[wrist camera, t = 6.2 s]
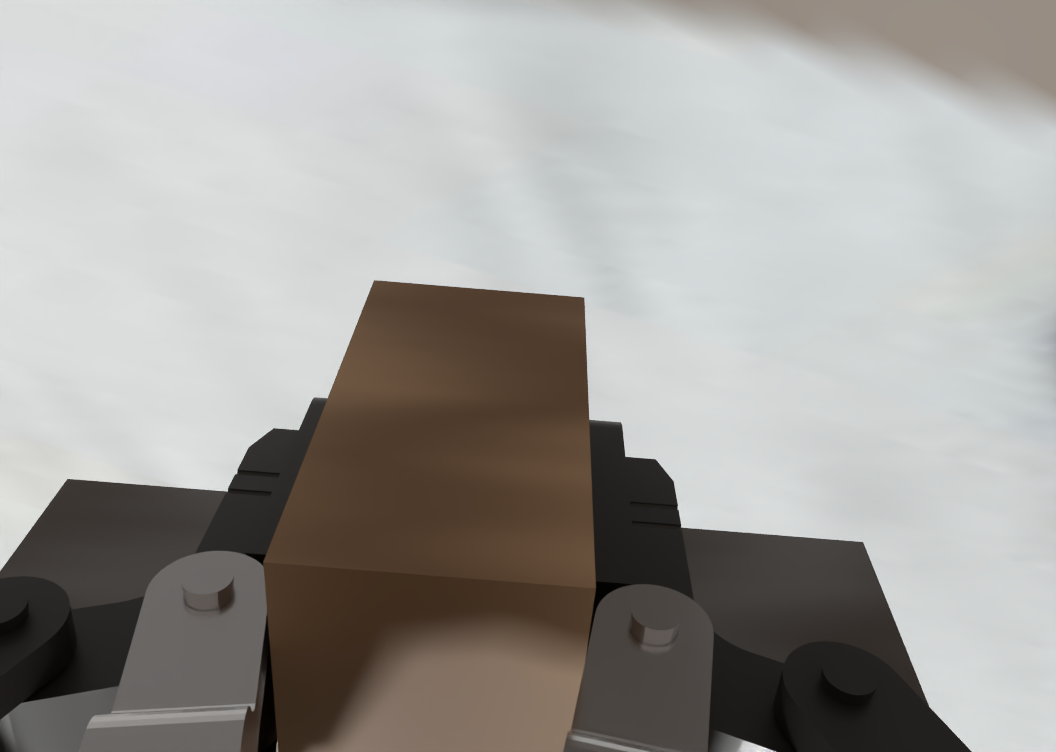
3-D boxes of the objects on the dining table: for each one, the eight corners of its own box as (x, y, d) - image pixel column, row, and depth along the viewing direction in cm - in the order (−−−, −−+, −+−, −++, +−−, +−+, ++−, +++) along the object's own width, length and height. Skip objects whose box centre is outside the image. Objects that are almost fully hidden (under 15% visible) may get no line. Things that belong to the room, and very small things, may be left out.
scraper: (932, 326, 14) (1144, 631, 9) (845, 597, 17) (970, 953, 12) (21, 251, 14) (-297, 518, 9) (79, 536, 17) (-141, 870, 11)
